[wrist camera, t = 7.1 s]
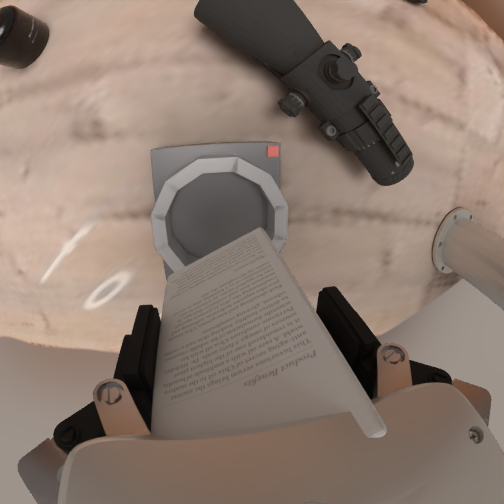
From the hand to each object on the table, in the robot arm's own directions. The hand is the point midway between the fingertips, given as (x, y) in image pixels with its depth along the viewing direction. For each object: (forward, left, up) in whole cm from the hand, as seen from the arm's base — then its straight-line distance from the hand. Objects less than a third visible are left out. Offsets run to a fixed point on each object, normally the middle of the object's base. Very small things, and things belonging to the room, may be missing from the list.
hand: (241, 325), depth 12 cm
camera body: (0, 0, -20) cm, 20 cm away
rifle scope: (-10, -14, -21) cm, 27 cm away
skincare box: (0, 0, -4) cm, 4 cm away
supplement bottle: (+24, -25, -21) cm, 40 cm away
